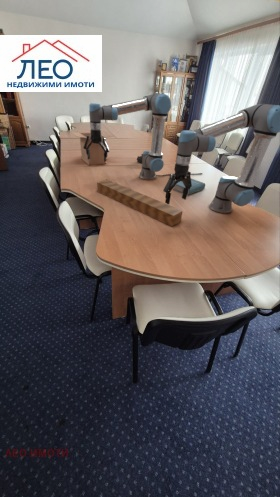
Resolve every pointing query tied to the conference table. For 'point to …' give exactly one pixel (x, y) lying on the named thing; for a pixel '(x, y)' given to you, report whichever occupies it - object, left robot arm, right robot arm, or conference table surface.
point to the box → (92, 148)
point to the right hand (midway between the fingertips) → (175, 201)
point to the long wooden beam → (140, 202)
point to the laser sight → (139, 159)
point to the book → (195, 187)
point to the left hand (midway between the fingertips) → (97, 160)
